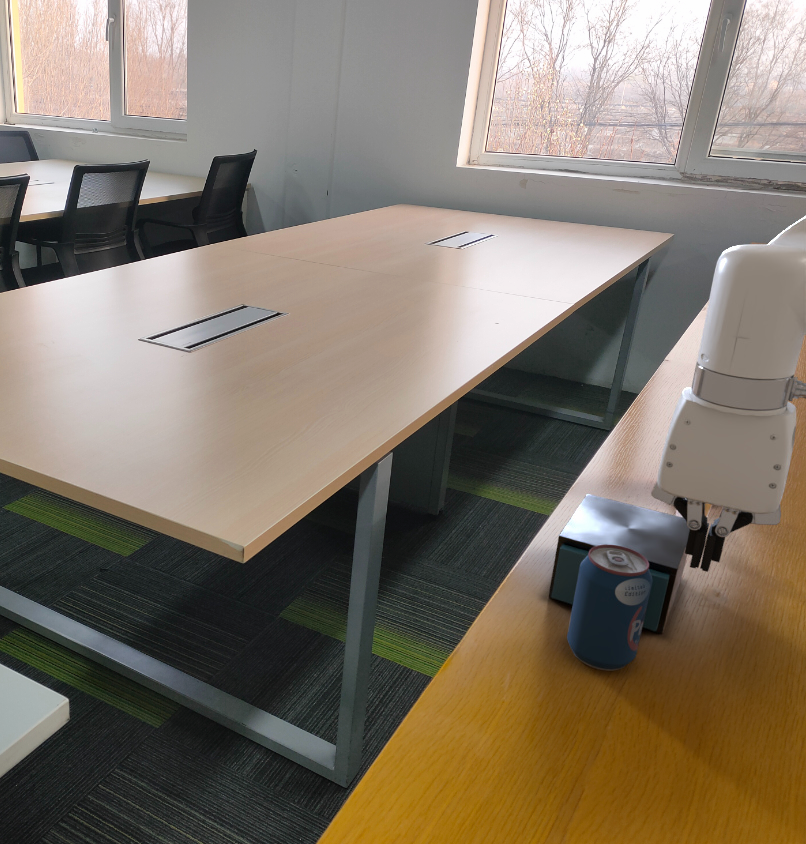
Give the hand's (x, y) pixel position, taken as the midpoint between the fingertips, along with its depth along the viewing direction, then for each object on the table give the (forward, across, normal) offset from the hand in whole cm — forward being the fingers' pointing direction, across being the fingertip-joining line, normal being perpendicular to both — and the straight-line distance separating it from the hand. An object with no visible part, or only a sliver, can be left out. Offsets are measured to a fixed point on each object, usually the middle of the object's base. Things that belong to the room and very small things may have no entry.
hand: (700, 563), depth 78 cm
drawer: (+13, +9, -12) cm, 19 cm away
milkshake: (+14, +3, -33) cm, 36 cm away
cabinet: (+14, +9, -14) cm, 21 cm away
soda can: (+14, +7, +1) cm, 16 cm away
